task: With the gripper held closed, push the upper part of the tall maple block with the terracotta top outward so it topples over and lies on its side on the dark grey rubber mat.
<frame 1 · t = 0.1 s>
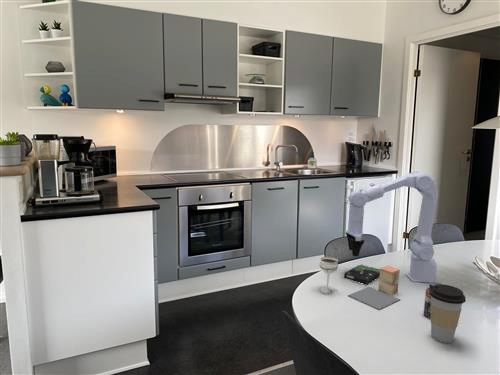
hand: (353, 252, 155), 10 cm above the table, tool pointing down, fingers open, 7 cm apart
coffee cup: (442, 338, 111), on the table
wineglass: (327, 290, 142), on the table
maple block: (387, 291, 142), on the table
disk drive: (363, 278, 156), on the table
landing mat: (373, 298, 136), on the table
supplement bottle: (433, 316, 124), on the table
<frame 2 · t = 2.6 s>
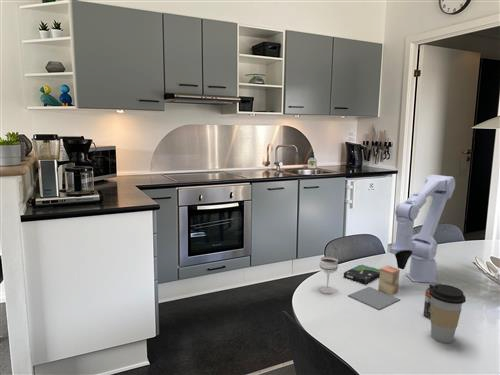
hand: (401, 268, 146), 7 cm above the table, tool pointing down, fingers closed
nothing on the table moved.
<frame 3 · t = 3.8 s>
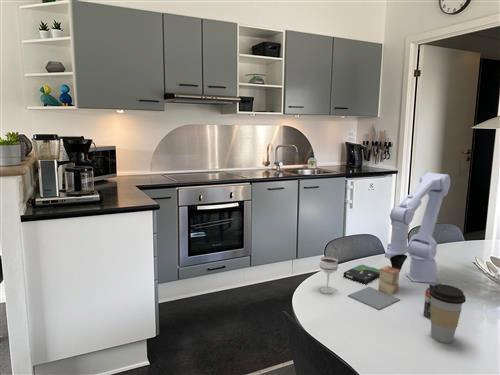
hand: (396, 272, 144), 6 cm above the table, tool pointing down, fingers closed
nothing on the table moved.
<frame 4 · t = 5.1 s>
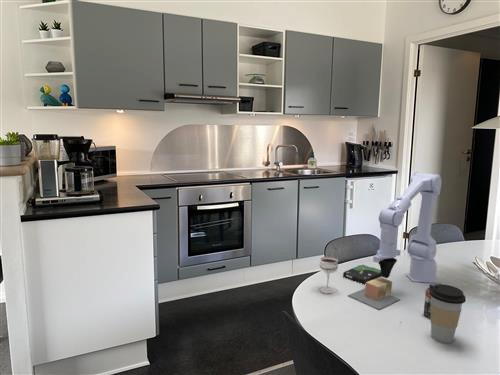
hand: (385, 276, 139), 6 cm above the table, tool pointing down, fingers closed
maple block: (385, 285, 140), point 3 cm above the table, tilted 90°, touching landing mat
everything else where it was.
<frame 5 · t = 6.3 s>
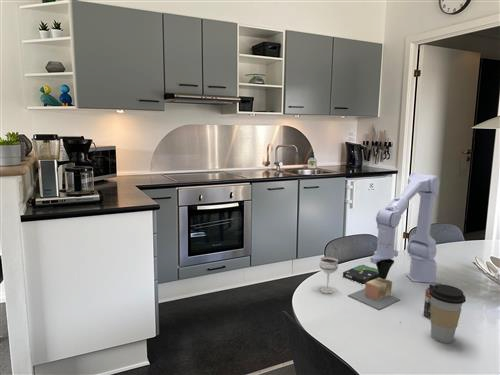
hand: (382, 278, 138), 6 cm above the table, tool pointing down, fingers closed
nothing on the table moved.
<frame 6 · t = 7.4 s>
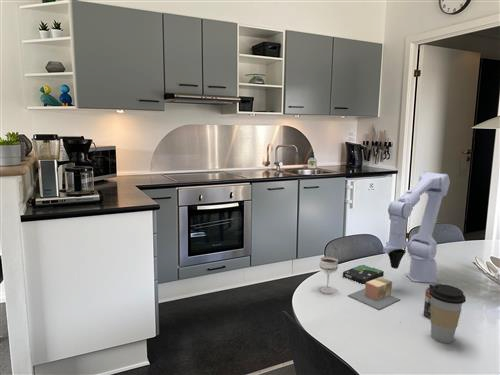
hand: (394, 267, 143), 9 cm above the table, tool pointing down, fingers closed
nothing on the table moved.
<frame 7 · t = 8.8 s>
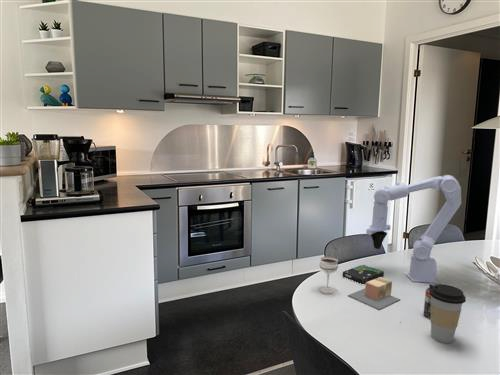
hand: (377, 248, 160), 10 cm above the table, tool pointing down, fingers closed
nothing on the table moved.
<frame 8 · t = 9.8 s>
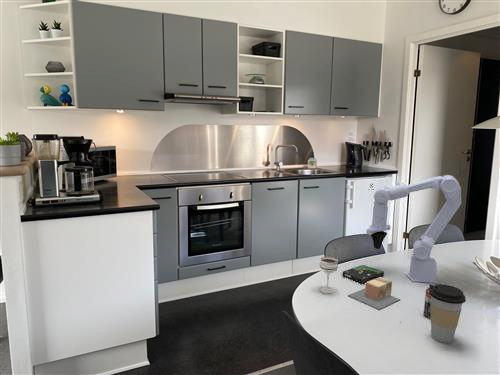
hand: (377, 248, 160), 10 cm above the table, tool pointing down, fingers closed
nothing on the table moved.
at the end: maple block tilted 90°; maple block inside the target area (1.4 cm from its centre), point 2.9 cm above the table; maple block touching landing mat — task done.
